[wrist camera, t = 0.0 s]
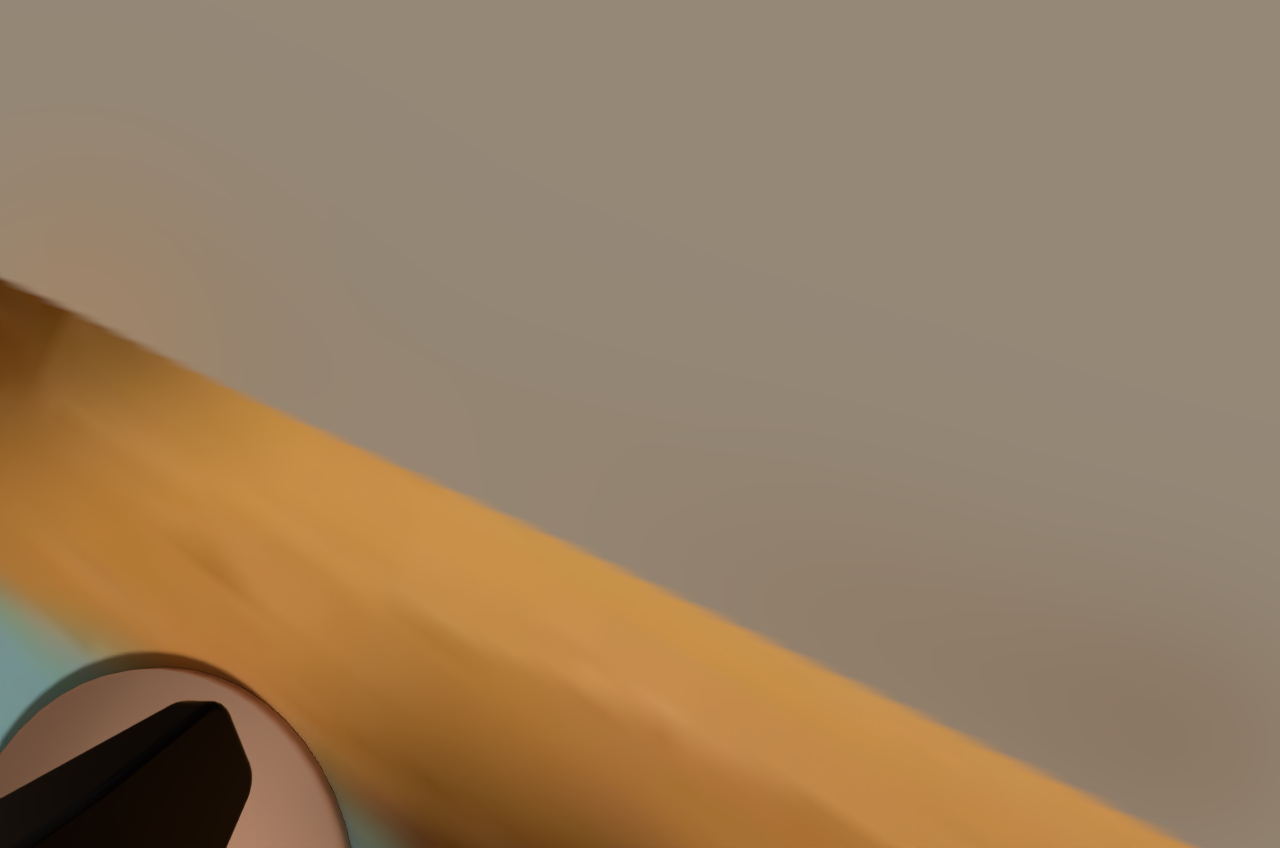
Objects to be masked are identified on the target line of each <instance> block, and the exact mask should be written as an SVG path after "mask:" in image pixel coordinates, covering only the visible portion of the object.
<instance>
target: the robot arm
mask: <svg viewBox="0 0 1280 848" xmlns="http://www.w3.org/2000/svg"><path fill="white" fill-rule="evenodd" d="M251 786H252V769H251V765H250V762H249V760H248V758H247V755H246V753H245V750H244V748H243V745H242V743H241V740H240V738H239V735H238V733H237V730H236V728H235V725H234V723H233V720H232V718H231V715H230V713H229V711H228V710H227V708H225V707H224V706H223V705H222V704H221V703H219V702H216V701H196V700H186V701H179V702H175V703H173V704H171V705H169V706H167V707H166V708H164V709H162V710H160V711H158V712H156V713H155V714H153V715H151V716H149V717H147V718H146V719H144V720H142V721H140V722H138V723H136V724H135V725H133V726H131V727H129V728H127V729H126V730H124V731H122V732H120V733H118V734H116V735H115V736H113V737H111V738H109V739H107V740H106V741H104V742H102V743H100V744H98V745H96V746H95V747H93V748H91V749H89V750H87V751H85V752H84V753H82V754H80V755H78V756H76V757H75V758H73V759H71V760H69V761H67V762H65V763H64V764H62V765H60V766H58V767H56V768H55V769H53V770H51V771H49V772H47V773H45V774H44V775H42V776H40V777H38V778H36V779H35V780H33V781H31V782H29V783H27V784H25V785H24V786H22V787H20V788H18V789H16V790H15V791H13V792H11V793H9V794H7V795H5V796H4V797H2V798H0V848H227V845H228V843H229V841H230V839H231V836H232V834H233V832H234V829H235V827H236V825H237V822H238V820H239V818H240V816H241V813H242V811H243V809H244V806H245V804H246V802H247V799H248V797H249V794H250V790H251Z"/></svg>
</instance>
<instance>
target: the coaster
mask: <svg viewBox="0 0 1280 848" xmlns="http://www.w3.org/2000/svg"><path fill="white" fill-rule="evenodd" d="M186 700H196V701H216V702H219V703H221V704H222V705H223V706H224V707H225V708H227V710H228V711H229V713H230V715H231V718H232V720H233V723H234V725H235V728H236V730H237V733H238V735H239V738H240V740H241V743H242V745H243V748H244V750H245V753H246V755H247V758H248V760H249V762H250V765H251V769H252V786H251V790H250V794H249V797H248V799H247V802H246V804H245V806H244V809H243V811H242V813H241V816H240V818H239V820H238V822H237V825H236V827H235V829H234V832H233V834H232V836H231V839H230V841H229V843H228V845H227V848H351V846H350V842H349V837H348V833H347V829H346V825H345V822H344V819H343V817H342V814H341V811H340V808H339V806H338V803H337V800H336V797H335V795H334V793H333V791H332V789H331V787H330V785H329V783H328V781H327V779H326V777H325V775H324V773H323V771H322V769H321V767H320V765H319V764H318V762H317V761H316V759H315V758H314V756H313V755H312V753H311V752H310V750H309V749H308V747H307V746H306V744H305V743H304V742H303V740H302V739H301V738H300V737H299V736H298V735H297V733H296V732H295V731H294V730H293V729H292V728H291V727H290V725H289V724H288V723H287V722H286V721H285V720H284V719H283V718H282V717H281V716H280V715H278V714H277V713H276V712H275V711H274V710H273V709H272V708H270V707H269V706H268V705H267V704H266V703H265V702H263V701H262V700H260V699H259V698H257V697H256V696H254V695H253V694H251V693H250V692H248V691H246V690H245V689H243V688H242V687H240V686H237V685H235V684H233V683H231V682H229V681H226V680H224V679H222V678H220V677H217V676H214V675H210V674H207V673H203V672H199V671H196V670H189V669H181V668H172V667H164V668H144V669H136V670H129V671H124V672H119V673H114V674H109V675H105V676H102V677H99V678H96V679H94V680H91V681H88V682H86V683H83V684H81V685H79V686H77V687H75V688H73V689H71V690H70V691H68V692H66V693H64V694H62V695H60V696H59V697H57V698H56V699H55V700H53V701H52V702H51V703H49V704H48V705H47V706H45V707H44V708H43V709H41V710H40V711H39V712H37V713H36V714H35V715H34V716H33V717H32V718H31V719H30V720H29V721H28V722H27V723H26V724H25V725H24V726H23V727H22V728H21V729H20V730H19V731H18V732H17V733H16V735H15V736H14V737H13V738H12V740H11V741H10V742H9V743H8V745H7V746H6V747H5V748H4V750H3V751H2V752H1V754H0V798H2V797H4V796H5V795H7V794H9V793H11V792H13V791H15V790H16V789H18V788H20V787H22V786H24V785H25V784H27V783H29V782H31V781H33V780H35V779H36V778H38V777H40V776H42V775H44V774H45V773H47V772H49V771H51V770H53V769H55V768H56V767H58V766H60V765H62V764H64V763H65V762H67V761H69V760H71V759H73V758H75V757H76V756H78V755H80V754H82V753H84V752H85V751H87V750H89V749H91V748H93V747H95V746H96V745H98V744H100V743H102V742H104V741H106V740H107V739H109V738H111V737H113V736H115V735H116V734H118V733H120V732H122V731H124V730H126V729H127V728H129V727H131V726H133V725H135V724H136V723H138V722H140V721H142V720H144V719H146V718H147V717H149V716H151V715H153V714H155V713H156V712H158V711H160V710H162V709H164V708H166V707H167V706H169V705H171V704H173V703H175V702H179V701H186Z"/></svg>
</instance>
